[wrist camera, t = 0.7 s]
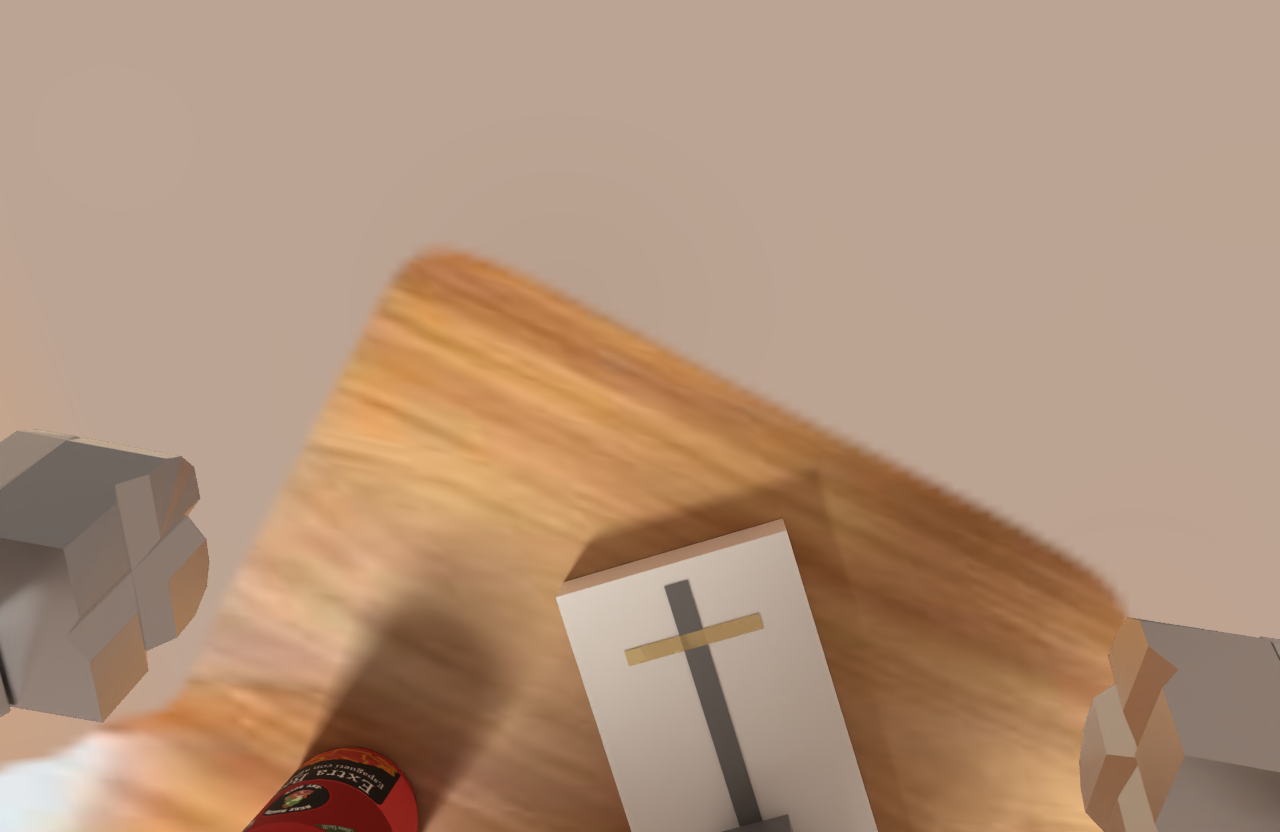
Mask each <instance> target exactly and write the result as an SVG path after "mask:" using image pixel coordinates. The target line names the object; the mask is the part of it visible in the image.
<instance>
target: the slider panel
mask: <svg viewBox="0 0 1280 832" xmlns="http://www.w3.org/2000/svg"><path fill="white" fill-rule="evenodd" d="M556 600H557V604H558V607H559V610H560V613H561V616H562V619H563V622H564V625H565V628H566V631H567V634H568V638H569V641H570V644H571V647H572V650H573V653H574V656H575V659H576V662H577V665H578V668H579V671H580V675H581V678H582V681H583V684H584V687H585V690H586V693H587V696H588V699H589V702H590V705H591V709H592V712H593V715H594V718H595V721H596V724H597V727H598V730H599V733H600V736H601V739H602V743H603V746H604V749H605V752H606V755H607V758H608V761H609V764H610V767H611V770H612V773H613V777H614V780H615V783H616V786H617V789H618V792H619V795H620V798H621V801H622V804H623V807H624V811H625V814H626V817H627V820H628V823H629V826H630V829H631V832H722V831H726V830H730V829H734V828H737V827H741V826H745V825H749V824H753V823H756V822H760V821H764V820H768V819H771V818H775V817H779V816H783V815H786V814H788V816H789V819H790V822H791V825H792V828H793V832H878V830H877V826H876V823H875V820H874V817H873V813H872V810H871V807H870V803H869V800H868V797H867V794H866V790H865V787H864V784H863V780H862V777H861V774H860V771H859V767H858V764H857V761H856V757H855V754H854V751H853V747H852V744H851V741H850V738H849V734H848V731H847V728H846V724H845V721H844V718H843V715H842V711H841V708H840V705H839V701H838V698H837V695H836V691H835V688H834V685H833V682H832V678H831V675H830V672H829V668H828V665H827V662H826V659H825V655H824V652H823V649H822V645H821V642H820V639H819V635H818V632H817V629H816V626H815V622H814V619H813V616H812V612H811V609H810V606H809V603H808V599H807V596H806V593H805V589H804V586H803V583H802V580H801V576H800V573H799V570H798V566H797V563H796V560H795V556H794V553H793V550H792V547H791V543H790V540H789V537H788V533H787V530H786V527H785V524H784V521H783V518H782V519H779V520H775V521H772V522H768V523H765V524H761V525H758V526H754V527H751V528H748V529H744V530H741V531H737V532H734V533H730V534H727V535H724V536H720V537H717V538H713V539H710V540H706V541H703V542H700V543H696V544H693V545H689V546H686V547H682V548H679V549H676V550H672V551H669V552H665V553H662V554H658V555H655V556H652V557H648V558H645V559H641V560H638V561H634V562H631V563H627V564H624V565H621V566H617V567H614V568H610V569H607V570H603V571H600V572H597V573H593V574H590V575H586V576H583V577H579V578H576V579H573V580H569V581H566V582H563V584H562V586H561V588H560V590H559V592H558V594H557V596H556Z"/></svg>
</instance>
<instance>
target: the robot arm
mask: <svg viewBox="0 0 1280 832" xmlns="http://www.w3.org/2000/svg"><path fill="white" fill-rule="evenodd" d="M199 499H200V494H199V489H198V484H197V479H196V474H195V469H194V467H193V466H192V465H191V464H190V463H189V462H187V461H186V460H185V459H184V458H183V457H182V456H177V455H172V454H167V453H162V452H156V451H151V450H146V449H141V448H136V447H130V446H125V445H120V444H114V443H110V442H104V441H99V440H94V439H89V438H79V437H76V436H72V435H67V434H60V433H54V432H48V431H42V430H36V429H35V430H23V431H16V432H15V433H13V434H12V435H10V436H9V437H7V438H6V439H4V440H3V441H1V442H0V717H1V716H3V715H5V714H7V713H9V712H10V707H16V708H21V709H27V710H33V711H39V712H44V713H50V714H56V715H62V716H67V717H73V718H79V719H84V720H90V721H96V722H102V723H103V722H104V721H105V719H106V718H107V717H108V716H109V715H110V714H111V713H112V711H113V710H114V709H115V708H116V707H117V706H118V705H119V704H120V702H121V701H122V700H123V699H124V698H125V697H126V696H127V694H128V693H129V692H130V691H131V690H132V689H133V688H134V686H135V685H136V684H137V683H138V682H139V681H140V680H141V678H142V677H143V676H144V675H145V674H146V673H147V672H148V661H147V651H148V650H150V649H152V648H154V647H157V646H159V645H161V644H163V643H166V642H168V641H170V640H172V639H174V638H177V637H178V636H179V635H180V633H181V632H182V631H183V630H184V628H185V627H186V626H187V625H188V624H189V622H190V621H191V620H192V619H193V617H194V616H195V614H196V612H197V609H198V607H199V604H200V602H201V599H202V597H203V595H204V592H205V590H206V587H207V579H208V569H209V556H208V548H207V541H206V538H205V537H204V536H203V534H202V533H201V532H200V531H199V529H198V528H197V527H196V526H195V524H194V523H193V522H192V521H191V520H190V518H189V517H188V515H189V513H190V512H191V510H192V509H193V508H194V506H195V505H196V504H197V502H198V500H199ZM1108 657H1109V661H1110V665H1111V668H1112V672H1113V676H1114V680H1115V683H1116V684H1114V685H1112V686H1111V687H1109V688H1108V689H1106V690H1105V691H1103V692H1102V693H1100V694H1098V695H1097V696H1095V697H1094V698H1093V700H1092V704H1091V707H1090V710H1089V713H1088V716H1087V719H1086V723H1085V726H1084V729H1083V736H1082V744H1081V752H1080V761H1079V765H1080V784H1081V792H1082V797H1083V802H1084V807H1085V812H1086V813H1087V814H1088V815H1089V816H1090V818H1091V819H1092V820H1093V821H1094V822H1095V823H1096V824H1097V825H1098V826H1099V827H1100V828H1101V829H1102V830H1103V831H1104V832H1280V639H1274V638H1266V637H1259V638H1256V637H1250V636H1244V635H1237V634H1230V633H1224V632H1218V631H1212V630H1205V629H1199V628H1192V627H1186V626H1180V625H1173V624H1166V623H1161V622H1154V621H1147V620H1141V619H1135V618H1129V617H1127V619H1126V620H1125V622H1124V623H1123V624H1122V626H1121V627H1120V629H1119V630H1118V632H1117V634H1116V637H1115V639H1114V642H1113V645H1112V647H1111V650H1110V653H1109V655H1108Z"/></svg>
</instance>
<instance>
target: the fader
mask: <svg viewBox="0 0 1280 832" xmlns="http://www.w3.org/2000/svg"><path fill="white" fill-rule="evenodd" d="M722 832H793V828H792V825H791V822H790V819H789V816H788V814H786V815H783V816H779V817H775V818H771V819H768V820H764V821H760V822H756V823H753V824H749V825H745V826H741V827H737V828H734V829H730V830H726V831H722Z"/></svg>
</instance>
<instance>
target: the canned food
mask: <svg viewBox="0 0 1280 832" xmlns="http://www.w3.org/2000/svg"><path fill="white" fill-rule="evenodd" d="M242 832H418V808H417V803H416V797H415V795H414V792H413V789H412V787H411V784H410V783H409V781H408V780H407V778H406V776H405V775H404V773H403V772H402V771H401V770H400V769H399V768H398V767H397V766H396V765H395V764H394V763H393V762H392V761H390V760H389V759H388V758H386V757H385V756H383V755H381V754H379V753H377V752H375V751H372V750H368V749H364V748H359V747H344V748H337V749H333V750H330V751H327V752H324V753H322V754H319V755H317V756H315V757H313V758H312V759H310V760H308V761H307V762H305V763H304V764H303V765H302V766H301V767H300V768H299V769H298V770H297V771H296V772H295V773H294V774H293V775H292V777H291V778H290V779H289V780H288V781H287V782H286V783H285V784H284V786H283V787H282V788H281V789H280V790H279V791H278V792H277V793H276V794H275V796H274V797H273V798H272V799H271V800H270V801H269V802H268V803H267V805H266V806H265V807H264V808H263V809H262V810H261V811H260V812H259V814H258V815H257V816H256V817H255V818H254V819H253V820H252V821H251V822H250V824H249V825H248V826H247V827H246V828H245V829H244V830H243V831H242Z"/></svg>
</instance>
